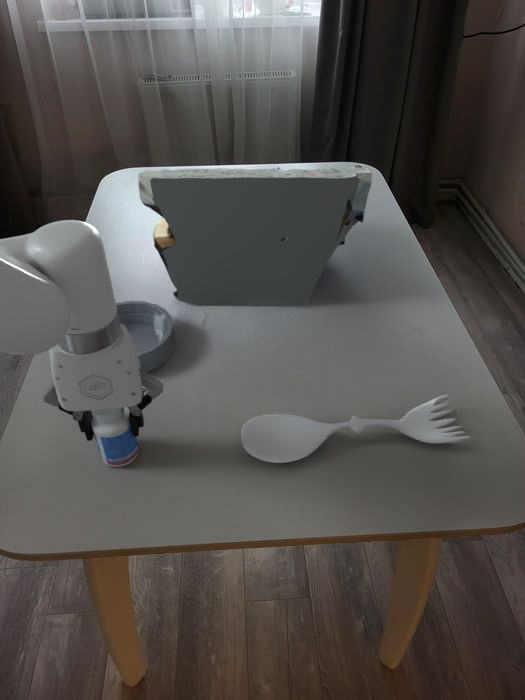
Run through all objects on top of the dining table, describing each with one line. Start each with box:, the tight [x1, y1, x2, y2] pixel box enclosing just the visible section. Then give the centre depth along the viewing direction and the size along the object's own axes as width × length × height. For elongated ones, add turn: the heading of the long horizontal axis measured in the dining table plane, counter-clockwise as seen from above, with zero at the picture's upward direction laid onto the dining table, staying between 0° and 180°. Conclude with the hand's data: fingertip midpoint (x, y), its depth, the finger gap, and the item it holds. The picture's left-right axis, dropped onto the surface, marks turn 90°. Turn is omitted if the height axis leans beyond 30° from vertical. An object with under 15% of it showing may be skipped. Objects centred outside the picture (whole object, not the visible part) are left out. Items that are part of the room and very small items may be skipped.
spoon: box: [240, 394, 472, 464], centre depth 80 cm, size 9×32×4 cm, turn 96°
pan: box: [116, 300, 177, 373], centre depth 95 cm, size 16×16×4 cm
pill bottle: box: [91, 407, 140, 468], centre depth 76 cm, size 6×5×10 cm
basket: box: [137, 164, 373, 307], centre depth 107 cm, size 40×31×28 cm
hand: (114, 430), depth 76 cm, fingers closed on pill bottle, 5 cm apart
